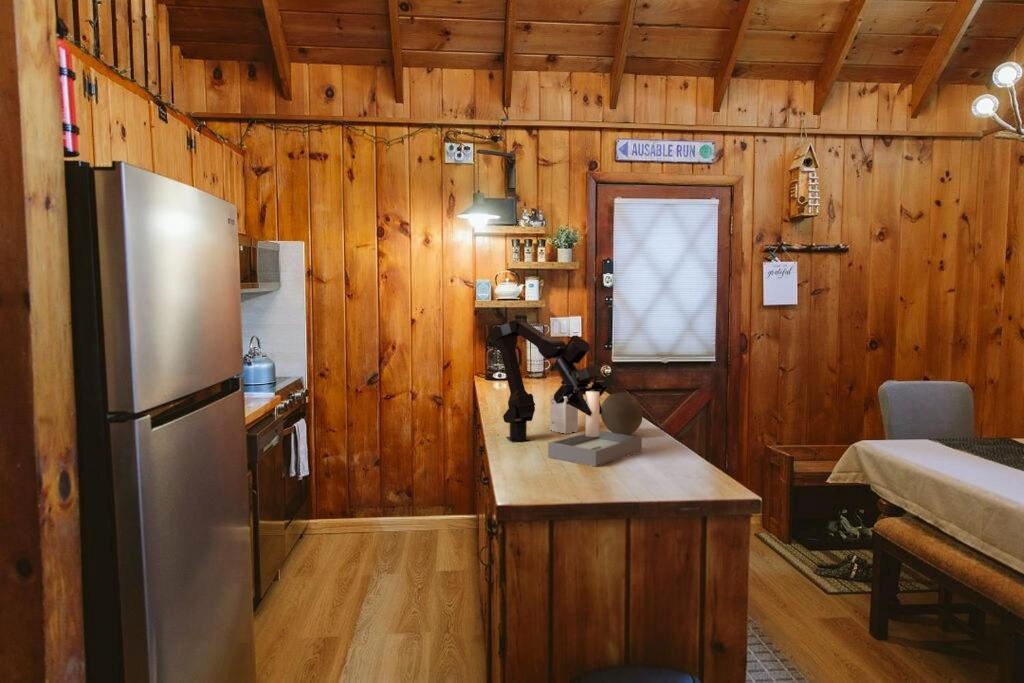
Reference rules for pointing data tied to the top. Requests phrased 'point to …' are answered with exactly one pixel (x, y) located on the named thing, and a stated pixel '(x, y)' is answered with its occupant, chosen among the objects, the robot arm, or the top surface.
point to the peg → (592, 420)
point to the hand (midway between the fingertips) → (595, 414)
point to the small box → (563, 416)
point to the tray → (594, 448)
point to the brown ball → (621, 413)
